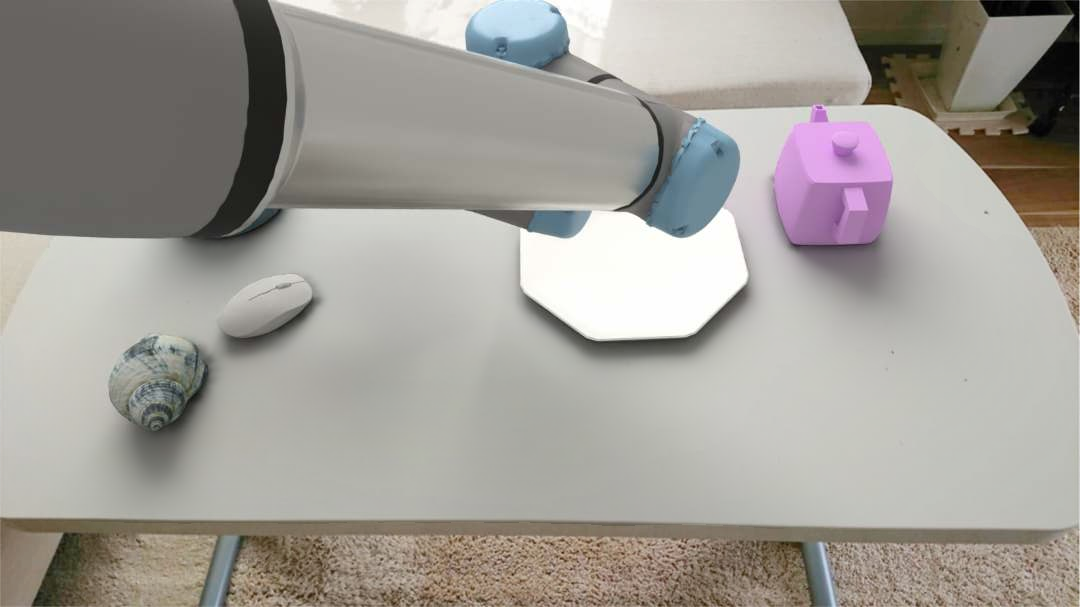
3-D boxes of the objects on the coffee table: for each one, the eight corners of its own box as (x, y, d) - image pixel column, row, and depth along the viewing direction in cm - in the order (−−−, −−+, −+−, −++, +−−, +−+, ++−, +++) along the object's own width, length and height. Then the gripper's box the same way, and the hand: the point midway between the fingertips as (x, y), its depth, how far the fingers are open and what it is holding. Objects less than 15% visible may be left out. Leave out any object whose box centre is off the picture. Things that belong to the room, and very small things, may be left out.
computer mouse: (323, 302, 79) (315, 284, 77) (239, 355, 76) (228, 338, 73) (295, 272, 82) (286, 254, 80) (213, 322, 78) (201, 304, 76)
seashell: (220, 357, 77) (169, 461, 70) (146, 334, 76) (85, 438, 68) (223, 324, 73) (169, 432, 65) (144, 299, 71) (79, 406, 64)
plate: (521, 352, 74) (520, 343, 73) (521, 190, 89) (520, 180, 88) (761, 342, 73) (764, 333, 72) (720, 180, 88) (722, 170, 87)
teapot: (760, 157, 90) (777, 85, 82) (849, 155, 90) (875, 82, 82) (788, 268, 79) (810, 197, 71) (890, 267, 78) (924, 194, 71)
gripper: (362, 279, 64) (175, 212, 70) (497, 112, 78) (331, 69, 84) (340, 215, 58) (138, 148, 64) (491, 47, 72) (312, 7, 78)
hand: (247, 103), depth 74 cm, fingers open, 13 cm apart
